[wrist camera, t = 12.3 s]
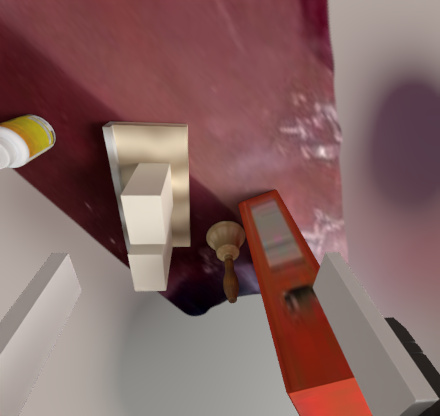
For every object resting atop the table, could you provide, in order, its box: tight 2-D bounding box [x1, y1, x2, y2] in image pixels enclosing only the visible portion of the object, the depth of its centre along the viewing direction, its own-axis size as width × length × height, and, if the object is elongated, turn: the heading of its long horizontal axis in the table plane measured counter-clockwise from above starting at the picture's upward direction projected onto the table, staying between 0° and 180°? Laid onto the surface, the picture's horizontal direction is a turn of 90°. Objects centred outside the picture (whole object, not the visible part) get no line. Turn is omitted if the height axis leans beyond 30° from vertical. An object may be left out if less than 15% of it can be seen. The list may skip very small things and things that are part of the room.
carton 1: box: [121, 163, 173, 244], centre depth 38 cm, size 8×5×11 cm, turn 178°
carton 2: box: [128, 219, 173, 291], centre depth 44 cm, size 8×5×11 cm, turn 177°
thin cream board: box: [102, 121, 190, 252], centre depth 44 cm, size 24×12×4 cm, turn 177°
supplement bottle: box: [0, 115, 55, 169], centre depth 35 cm, size 6×6×10 cm
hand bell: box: [206, 221, 245, 303], centre depth 46 cm, size 8×8×16 cm
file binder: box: [238, 190, 373, 416], centre depth 39 cm, size 8×17×32 cm, turn 21°
